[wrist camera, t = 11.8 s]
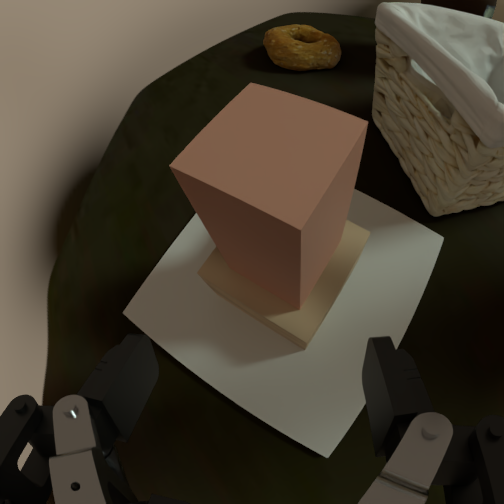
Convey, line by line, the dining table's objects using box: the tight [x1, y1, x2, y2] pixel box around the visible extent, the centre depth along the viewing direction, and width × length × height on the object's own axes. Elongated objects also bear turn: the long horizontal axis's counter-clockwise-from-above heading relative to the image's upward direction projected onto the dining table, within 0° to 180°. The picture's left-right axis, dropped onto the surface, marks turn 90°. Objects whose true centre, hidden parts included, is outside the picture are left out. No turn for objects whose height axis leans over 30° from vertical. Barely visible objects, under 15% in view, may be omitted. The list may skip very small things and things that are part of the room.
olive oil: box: [421, 0, 497, 19], centre depth 22 cm, size 11×11×25 cm
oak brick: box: [197, 219, 371, 350], centre depth 21 cm, size 8×8×5 cm
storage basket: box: [372, 2, 504, 217], centre depth 20 cm, size 24×16×15 cm
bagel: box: [263, 24, 341, 71], centre depth 34 cm, size 10×11×5 cm
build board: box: [123, 189, 444, 458], centre depth 24 cm, size 20×20×1 cm
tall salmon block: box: [169, 83, 368, 310], centre depth 14 cm, size 5×5×10 cm
